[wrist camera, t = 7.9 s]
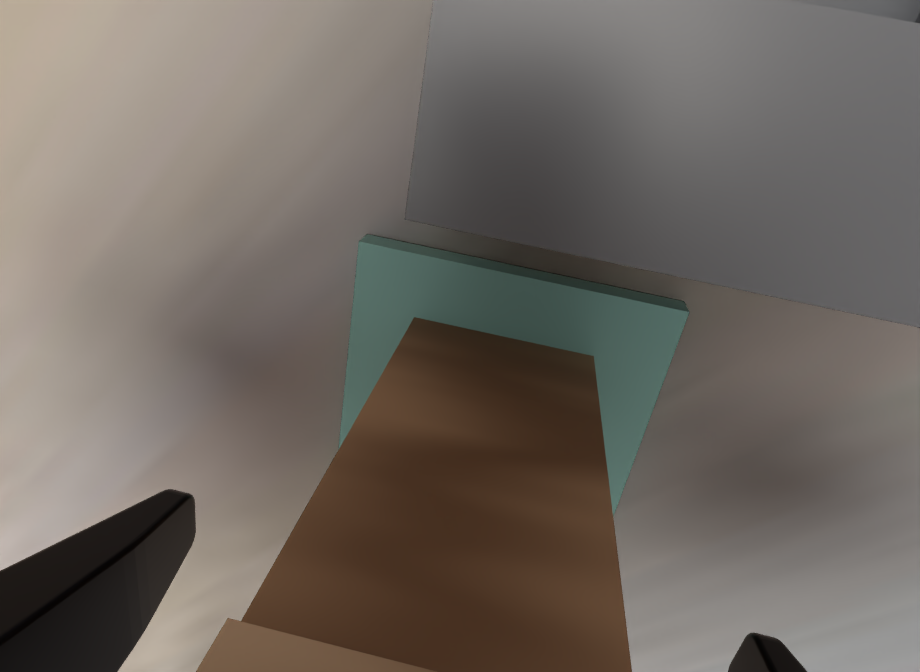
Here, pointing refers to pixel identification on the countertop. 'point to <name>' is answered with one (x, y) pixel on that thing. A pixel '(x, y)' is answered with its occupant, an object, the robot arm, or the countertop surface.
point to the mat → (516, 329)
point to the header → (685, 140)
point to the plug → (451, 526)
